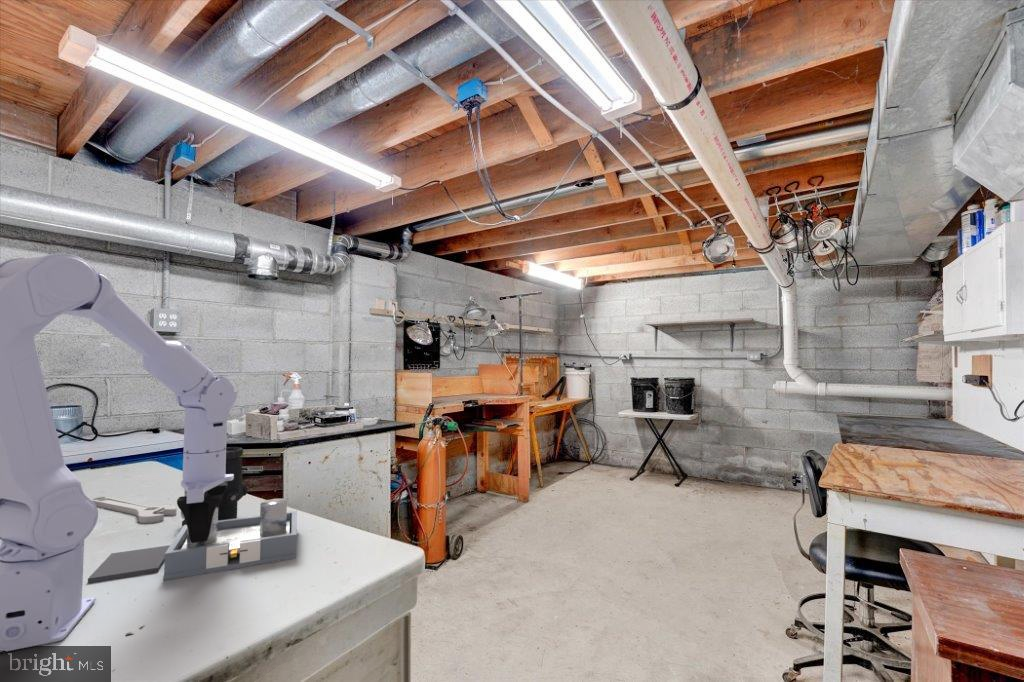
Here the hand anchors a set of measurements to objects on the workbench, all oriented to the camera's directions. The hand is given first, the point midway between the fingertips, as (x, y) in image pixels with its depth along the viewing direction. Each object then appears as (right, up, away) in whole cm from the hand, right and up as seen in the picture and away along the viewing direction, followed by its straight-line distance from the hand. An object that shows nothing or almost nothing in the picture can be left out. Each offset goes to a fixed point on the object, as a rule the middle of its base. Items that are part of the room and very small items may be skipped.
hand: (202, 535), depth 72 cm
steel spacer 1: (0, -1, 0) cm, 1 cm away
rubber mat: (-9, -3, -3) cm, 10 cm away
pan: (+5, -2, +1) cm, 5 cm away
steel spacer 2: (+9, -1, +4) cm, 10 cm away
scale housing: (+5, -4, +2) cm, 6 cm away
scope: (-7, -4, +15) cm, 17 cm away
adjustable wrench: (-29, -5, +22) cm, 37 cm away
